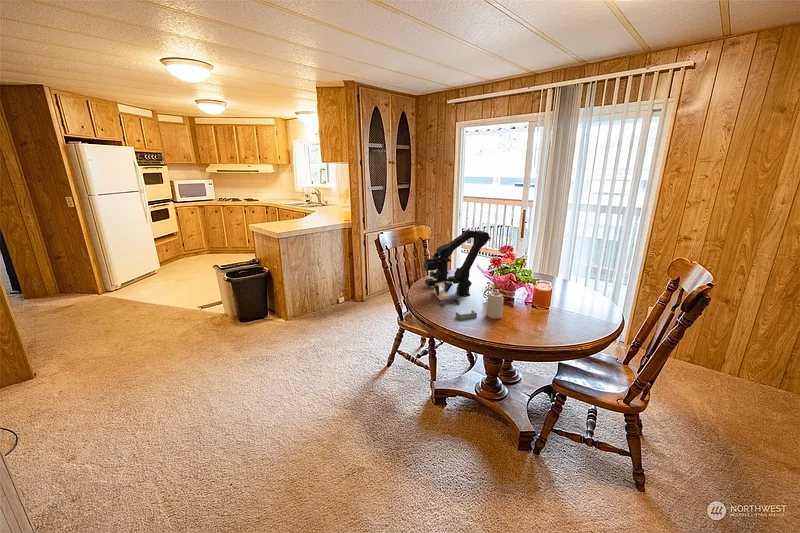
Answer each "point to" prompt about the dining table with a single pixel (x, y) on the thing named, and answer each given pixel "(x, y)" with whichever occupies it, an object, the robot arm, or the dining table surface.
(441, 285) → the cup
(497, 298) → the can
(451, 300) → the end caps
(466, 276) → the robot arm
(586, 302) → the dining table surface
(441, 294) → the beige wooden bar
